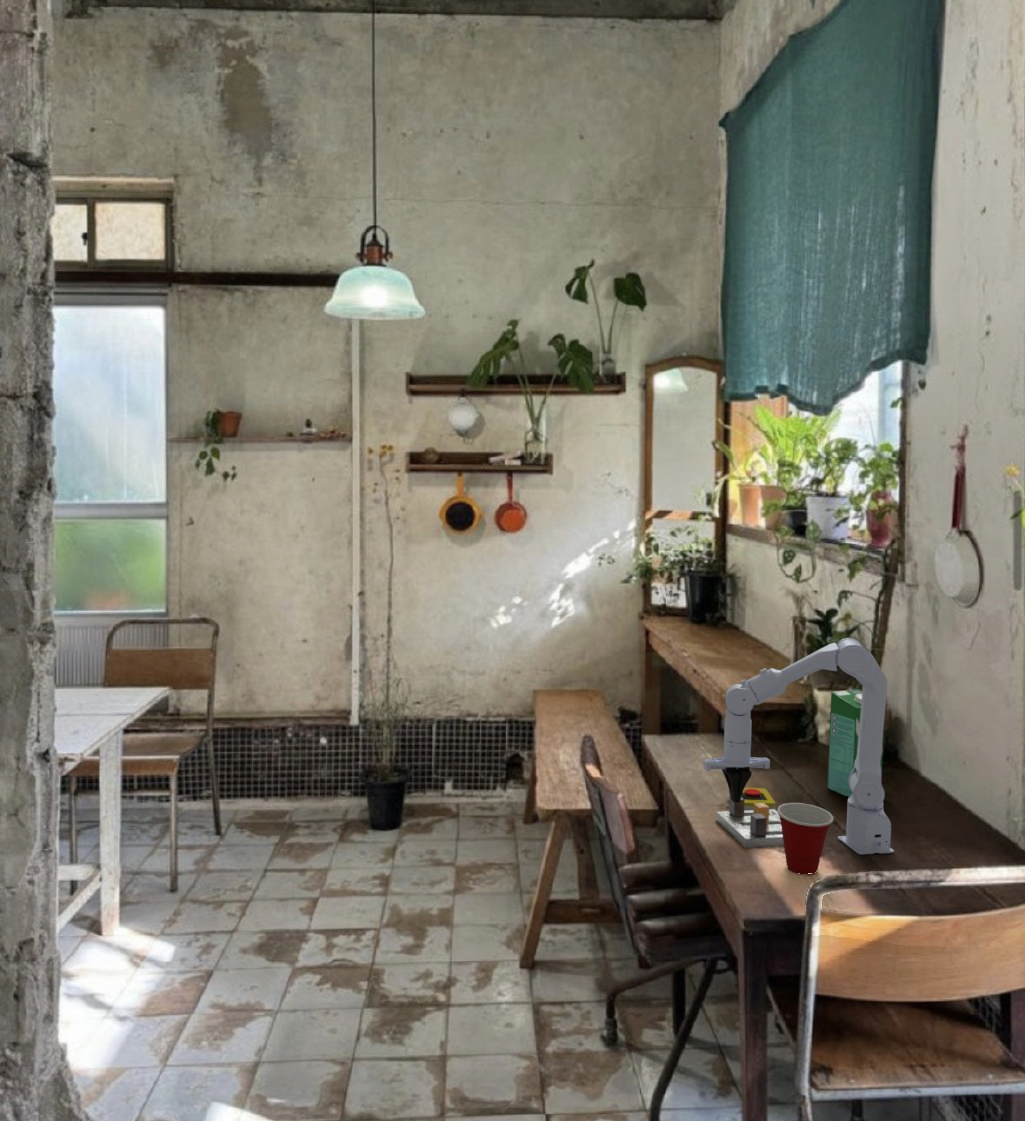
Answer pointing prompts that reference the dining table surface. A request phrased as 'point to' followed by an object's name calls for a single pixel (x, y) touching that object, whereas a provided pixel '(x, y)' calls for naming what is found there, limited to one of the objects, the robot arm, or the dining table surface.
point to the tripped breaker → (761, 810)
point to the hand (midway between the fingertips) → (735, 800)
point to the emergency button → (756, 798)
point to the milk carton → (844, 738)
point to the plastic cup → (803, 835)
